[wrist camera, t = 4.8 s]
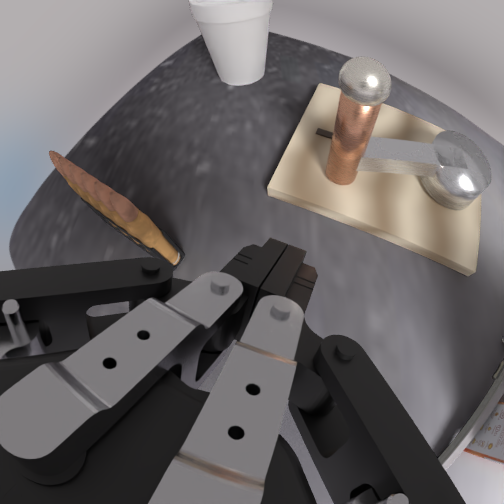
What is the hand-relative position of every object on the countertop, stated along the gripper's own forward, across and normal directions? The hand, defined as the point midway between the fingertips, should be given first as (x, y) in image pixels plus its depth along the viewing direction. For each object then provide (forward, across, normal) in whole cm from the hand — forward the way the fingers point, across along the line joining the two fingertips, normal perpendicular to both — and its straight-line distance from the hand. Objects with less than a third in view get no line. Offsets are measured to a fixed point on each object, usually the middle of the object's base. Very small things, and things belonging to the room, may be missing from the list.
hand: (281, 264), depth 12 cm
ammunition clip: (+11, +15, +9) cm, 21 cm away
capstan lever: (+20, -7, -3) cm, 22 cm away
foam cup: (+29, +16, -10) cm, 35 cm away
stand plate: (+23, -6, -3) cm, 24 cm away
